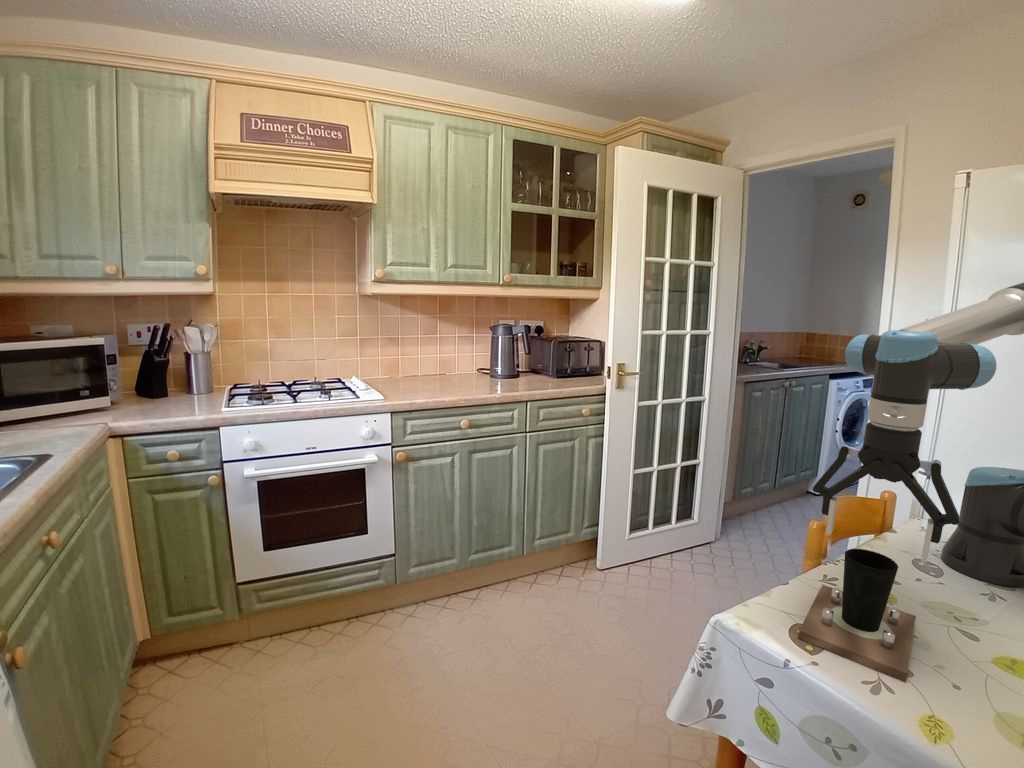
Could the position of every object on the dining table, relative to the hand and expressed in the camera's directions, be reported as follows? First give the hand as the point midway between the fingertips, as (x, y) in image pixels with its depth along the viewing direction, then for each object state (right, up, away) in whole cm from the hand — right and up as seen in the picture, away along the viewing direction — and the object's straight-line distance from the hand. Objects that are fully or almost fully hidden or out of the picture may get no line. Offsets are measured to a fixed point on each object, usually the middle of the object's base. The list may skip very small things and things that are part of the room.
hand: (874, 545), depth 91 cm
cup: (-1, -14, +3) cm, 15 cm away
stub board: (-1, -16, +3) cm, 16 cm away
